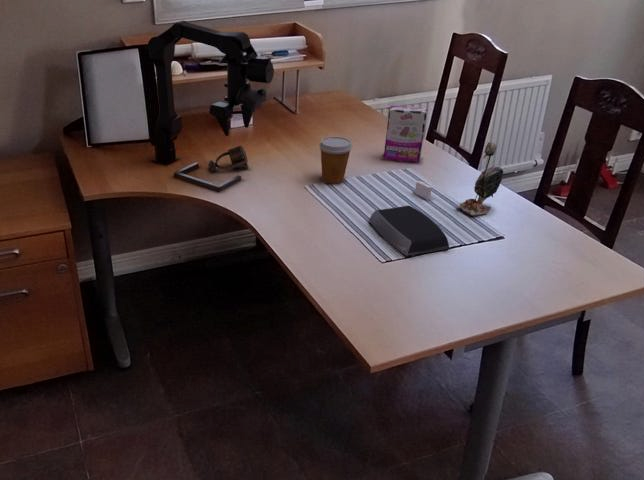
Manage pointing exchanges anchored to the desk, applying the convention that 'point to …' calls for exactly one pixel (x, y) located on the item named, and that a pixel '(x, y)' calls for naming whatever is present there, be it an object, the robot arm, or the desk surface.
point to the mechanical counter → (236, 157)
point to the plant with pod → (484, 185)
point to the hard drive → (409, 230)
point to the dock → (182, 175)
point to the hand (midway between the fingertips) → (236, 131)
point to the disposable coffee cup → (334, 158)
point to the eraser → (423, 190)
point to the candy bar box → (405, 133)
